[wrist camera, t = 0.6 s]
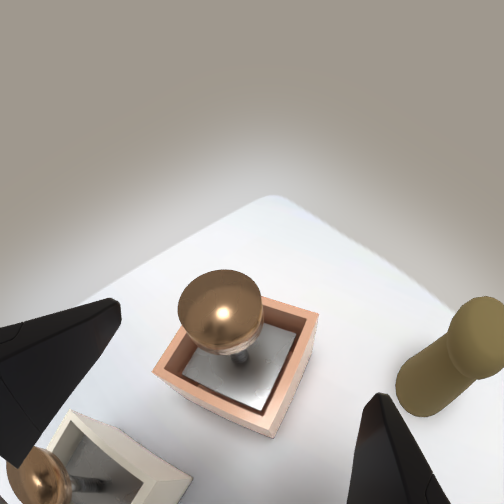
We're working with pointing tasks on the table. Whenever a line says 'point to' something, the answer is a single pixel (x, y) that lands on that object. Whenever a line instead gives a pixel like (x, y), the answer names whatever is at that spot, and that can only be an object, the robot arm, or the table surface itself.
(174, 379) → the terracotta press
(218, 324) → the brown and grey plunger
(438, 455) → the table surface
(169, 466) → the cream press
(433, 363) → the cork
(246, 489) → the table surface
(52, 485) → the round copper knob
